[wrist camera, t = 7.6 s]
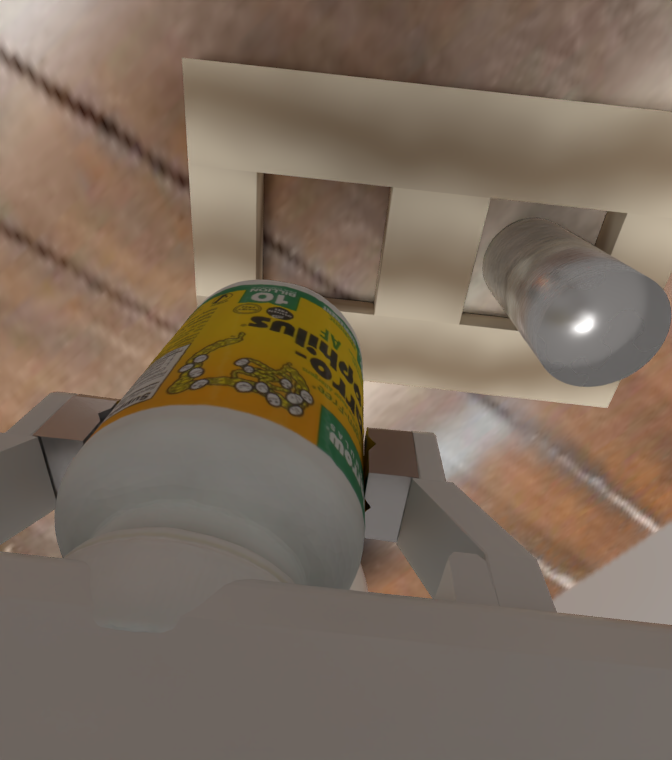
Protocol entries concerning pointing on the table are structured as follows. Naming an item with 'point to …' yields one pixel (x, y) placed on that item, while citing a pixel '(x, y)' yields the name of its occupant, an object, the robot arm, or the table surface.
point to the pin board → (423, 201)
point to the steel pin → (575, 303)
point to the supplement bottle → (224, 461)
